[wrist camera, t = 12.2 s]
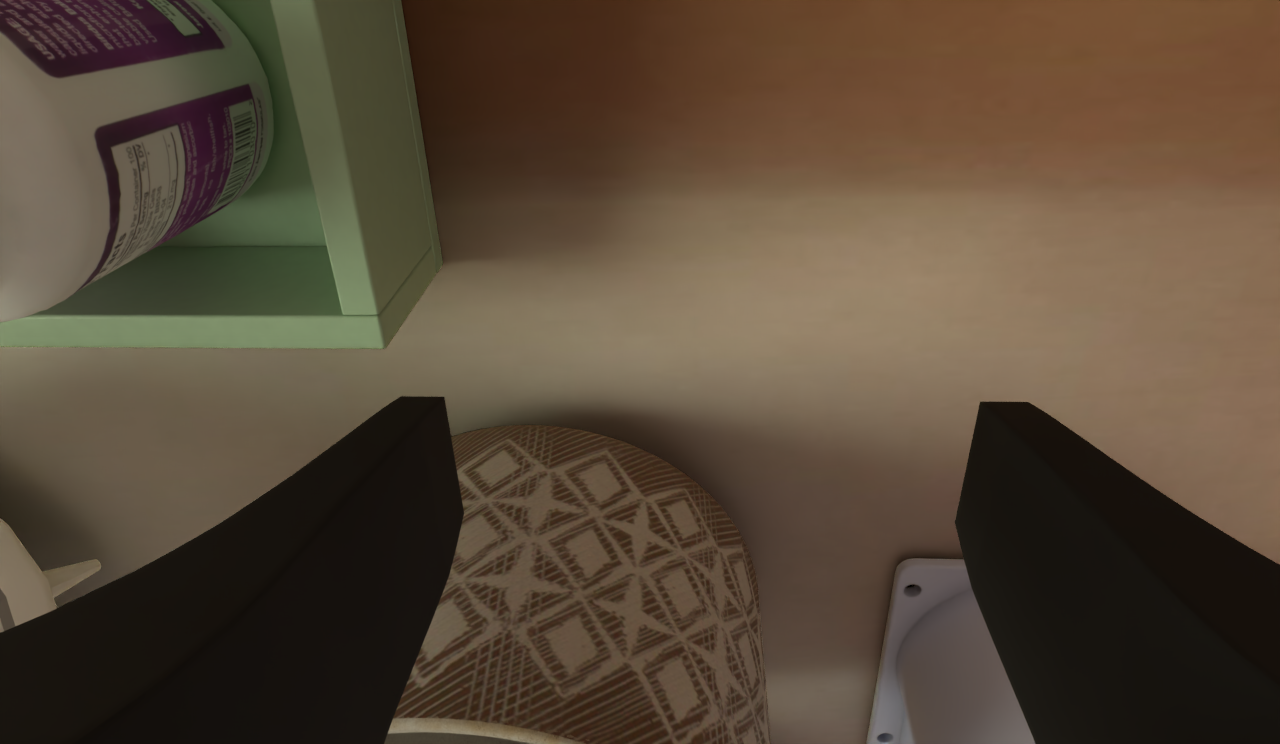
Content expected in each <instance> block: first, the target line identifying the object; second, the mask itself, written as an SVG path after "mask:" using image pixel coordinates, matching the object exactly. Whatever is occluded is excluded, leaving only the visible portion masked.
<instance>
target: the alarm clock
mask: <svg viewBox="0 0 1280 744" xmlns="http://www.w3.org/2000/svg"><path fill="white" fill-rule="evenodd" d="M100 569H101V564H100V562H99V561H98V560H97V559H94V560H90V561H85V562H81V563H77V564H72V565H68V566H64V567H59V568H55V569H51V570H46V571H41V569H40V568H39V567H38V565H37V564H36V563H35V561H34V560H33V558H32V557H31V556H30V554H29V553H28V551H27V550H26V549H25V547H24V546H23V544H22V543H21V542H20V540H19V539H18V538H17V536H16V535H15V533H14V532H13V531H12V529H11V528H10V526H9V525H8V524H7V523H6V522H4V521H3V520H2V519H1V518H0V633H1V632H3V631H6V630H8V629H10V628H13V627H15V626H17V625H20V624H22V623H25V622H27V621H29V620H32V619H34V618H36V617H39V616H41V615H43V614H46V613H48V612H50V611H52V610H55V609H57V607H56V604H55V601H54V598H55V597H56V596H58V595H60V594H61V593H63V592H64V591H66V590H68V589H69V588H71V587H73V586H74V585H76V584H78V583H79V582H81V581H83V580H84V579H86V578H87V577H89V576H91V575H92V574H94V573H96V572H97V571H99V570H100Z"/></svg>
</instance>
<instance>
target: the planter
mask: <svg viewBox="0 0 1280 744" xmlns="http://www.w3.org/2000/svg"><path fill="white" fill-rule="evenodd" d="M451 439H452V445H453V451H454V457H455V463H456V468H457V474H458V480H459V486H460V492H461V497H462V503H463V509H464V516H463V521H462V525H461V529H460V534H459V538H458V543H457V547H456V551H455V555H454V559H453V563H452V566H451V570H450V574H449V577H448V580H447V583H446V585H445V588H444V591H443V593H442V596H441V598H440V601H439V604H438V606H437V609H436V611H435V614H434V616H433V619H432V622H431V624H430V627H429V629H428V632H427V634H426V637H425V639H424V642H423V644H422V647H421V649H420V652H419V654H418V657H417V659H416V662H415V664H414V667H413V669H412V672H411V674H410V677H409V679H408V682H407V684H406V687H405V689H404V692H403V694H402V697H401V699H400V702H399V704H398V707H397V709H396V712H395V715H394V717H393V720H392V723H391V726H390V728H389V731H388V734H387V737H386V740H385V743H384V744H771V740H770V728H769V716H768V704H767V692H766V679H765V667H764V655H763V643H762V631H761V619H760V607H759V595H758V584H757V578H756V573H755V569H754V566H753V562H752V559H751V557H750V554H749V552H748V549H747V547H746V544H745V542H744V541H743V539H742V537H741V535H740V533H739V531H738V530H737V528H736V527H735V525H734V523H733V522H732V520H731V519H730V518H729V516H728V515H727V514H726V513H725V511H724V510H723V509H722V507H721V506H720V505H719V504H718V503H717V502H716V501H715V500H714V499H713V498H712V497H711V495H710V494H708V493H707V492H706V491H705V490H704V489H703V488H702V487H701V486H700V485H699V484H697V483H696V482H695V481H694V480H692V479H691V478H690V477H688V476H687V475H686V474H684V473H683V472H681V471H680V470H678V469H677V468H675V467H674V466H672V465H671V464H669V463H667V462H666V461H664V460H662V459H660V458H659V457H657V456H655V455H653V454H651V453H649V452H647V451H645V450H642V449H640V448H638V447H635V446H633V445H630V444H628V443H626V442H623V441H620V440H617V439H614V438H611V437H608V436H604V435H600V434H596V433H592V432H588V431H583V430H578V429H573V428H565V427H557V426H544V425H512V426H499V427H492V428H485V429H479V430H475V431H470V432H465V433H462V434H459V435H455V436H452V437H451Z"/></svg>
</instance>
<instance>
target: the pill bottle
mask: <svg viewBox="0 0 1280 744" xmlns="http://www.w3.org/2000/svg"><path fill="white" fill-rule="evenodd" d="M273 137H274V120H273V109H272V98H271V93H270V89H269V84H268V78H267V76H266V74H265V72H264V70H263V68H262V65H261V63H260V61H259V59H258V57H257V55H256V53H255V51H254V49H253V48H252V46H251V44H250V43H249V41H248V39H247V38H246V36H245V35H244V34H243V33H242V31H241V30H240V29H239V28H238V26H237V25H236V24H235V23H234V22H233V21H232V20H231V19H230V18H229V17H228V16H227V15H226V14H225V13H224V12H223V11H222V10H221V9H220V8H219V7H218V6H217V5H216V4H215V3H214V2H213V1H211V0H0V322H6V321H11V320H15V319H20V318H24V317H27V316H29V315H32V314H35V313H37V312H39V311H42V310H47V309H49V308H51V307H52V306H54V305H56V304H58V303H60V302H62V301H64V300H66V299H68V298H69V297H70V296H72V295H73V294H75V293H76V292H78V291H79V290H81V289H83V288H84V287H86V286H88V285H89V284H91V283H93V282H94V281H96V280H98V279H100V278H102V277H103V276H105V275H107V274H109V273H110V272H112V271H114V270H116V269H117V268H119V267H121V266H123V265H124V264H126V263H128V262H130V261H132V260H133V259H135V258H137V257H139V256H141V255H142V254H144V253H146V252H148V251H150V250H152V249H153V248H155V247H157V246H159V245H160V244H162V243H164V242H166V241H168V240H170V239H172V238H173V237H175V236H177V235H178V234H180V233H182V232H183V231H185V230H187V229H189V228H190V227H192V226H193V225H195V224H197V223H199V222H201V221H202V220H204V219H206V218H207V217H209V216H211V215H212V214H214V213H216V212H218V211H219V210H221V209H223V208H225V207H226V206H228V205H229V204H231V203H232V202H234V201H235V200H237V199H238V198H239V197H241V196H242V195H243V194H244V193H245V192H246V191H247V190H248V189H249V188H250V187H251V186H252V184H253V183H254V182H255V181H256V179H257V178H258V177H259V176H260V175H261V173H262V171H263V169H264V168H265V165H266V163H267V160H268V157H269V154H270V151H271V147H272V142H273Z"/></svg>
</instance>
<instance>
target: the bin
mask: <svg viewBox="0 0 1280 744" xmlns="http://www.w3.org/2000/svg"><path fill="white" fill-rule="evenodd" d="M211 1H213V2H214V3H215V4H216V5H217V6H218V7H219V8H220V9H221V10H222V11H223V12H224V13H225V14H226V15H227V16H228V17H229V18H230V19H231V20H232V21H233V22H234V23H235V24H236V25H237V26H238V28H239V29H240V30H241V31H242V33H243V34H244V35H245V36H246V38H247V39H248V41H249V43H250V44H251V46H252V48H253V49H254V51H255V53H256V55H257V57H258V59H259V61H260V63H261V65H262V68H263V70H264V72H265V74H266V76H267V78H268V84H269V89H270V93H271V98H272V109H273V120H274V137H273V142H272V147H271V151H270V154H269V157H268V160H267V163H266V165H265V168H264V169H263V171H262V173H261V175H260V176H259V177H258V178H257V179H256V181H255V182H254V183H253V184H252V186H251V187H250V188H249V189H248V190H247V191H246V192H245V193H244V194H243V195H242V196H241V197H239V198H238V199H237V200H235V201H234V202H232V203H231V204H229V205H228V206H226V207H225V208H223V209H221V210H219V211H218V212H216V213H214V214H212V215H211V216H209V217H207V218H206V219H204V220H202V221H201V222H199V223H197V224H195V225H193V226H192V227H190V228H189V229H187V230H185V231H183V232H182V233H180V234H178V235H177V236H175V237H173V238H172V239H170V240H168V241H166V242H164V243H162V244H160V245H159V246H157V247H155V248H153V249H152V250H150V251H148V252H146V253H144V254H142V255H141V256H139V257H137V258H135V259H133V260H132V261H130V262H128V263H126V264H124V265H123V266H121V267H119V268H117V269H116V270H114V271H112V272H110V273H109V274H107V275H105V276H103V277H102V278H100V279H98V280H96V281H94V282H93V283H91V284H89V285H88V286H86V287H84V288H83V289H81V290H79V291H78V292H76V293H75V294H73V295H72V296H70V297H69V298H68V299H66V300H64V301H62V302H60V303H58V304H56V305H54V306H52V307H51V308H49V309H47V310H42V311H39V312H37V313H35V314H32V315H29V316H27V317H24V318H20V319H15V320H11V321H6V322H0V347H114V348H309V349H384V348H386V347H387V346H388V344H389V343H390V341H391V340H392V338H393V337H394V336H395V334H396V333H397V331H398V330H399V328H400V327H401V325H402V324H403V322H404V321H405V319H406V318H407V316H408V315H409V313H410V312H411V311H412V309H413V308H414V306H415V305H416V303H417V302H418V300H419V299H420V297H421V296H422V294H423V293H424V291H425V290H426V288H427V287H428V286H429V284H430V283H431V281H432V280H433V278H434V277H435V275H436V273H438V271H439V270H440V268H441V267H442V265H443V261H442V255H441V249H440V242H439V236H438V230H437V223H436V217H435V211H434V204H433V198H432V192H431V186H430V179H429V173H428V167H427V160H426V154H425V148H424V141H423V135H422V129H421V122H420V116H419V110H418V104H417V97H416V91H415V85H414V78H413V72H412V66H411V59H410V53H409V47H408V40H407V34H406V28H405V21H404V15H403V9H402V3H401V0H211Z"/></svg>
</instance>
